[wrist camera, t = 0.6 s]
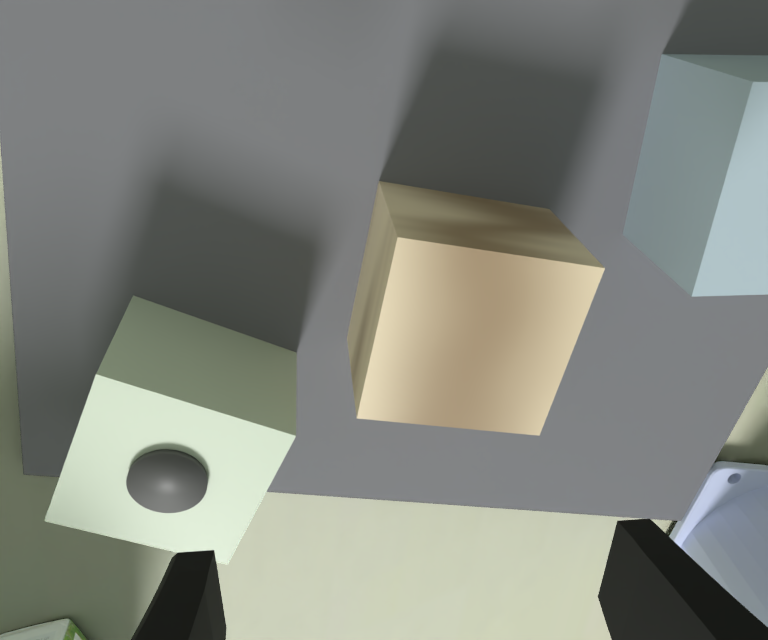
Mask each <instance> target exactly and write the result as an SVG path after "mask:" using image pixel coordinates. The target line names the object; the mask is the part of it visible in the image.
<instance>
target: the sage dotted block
mask: <svg viewBox="0 0 768 640" xmlns="http://www.w3.org/2000/svg"><path fill="white" fill-rule="evenodd" d="M296 385H297V353H296V352H294V351H291V350H288V349H285V348H282V347H279V346H276V345H274V344H271V343H268V342H265V341H262V340H259V339H256V338H254V337H251V336H248V335H245V334H242V333H239V332H236V331H234V330H231V329H228V328H225V327H222V326H219V325H216V324H214V323H211V322H208V321H205V320H202V319H199V318H196V317H194V316H191V315H188V314H185V313H182V312H179V311H176V310H174V309H171V308H168V307H165V306H162V305H159V304H156V303H154V302H151V301H148V300H145V299H142V298H139V297H136V296H134V295H133V297H132V299H131V301H130V303H129V305H128V307H127V309H126V312H125V314H124V316H123V318H122V320H121V322H120V324H119V326H118V329H117V331H116V333H115V335H114V337H113V339H112V341H111V343H110V345H109V348H108V350H107V352H106V354H105V356H104V358H103V360H102V362H101V365H100V367H99V369H98V371H97V373H96V375H95V378H94V381H93V384H92V387H91V390H90V392H89V395H88V398H87V401H86V404H85V407H84V409H83V412H82V415H81V418H80V421H79V424H78V426H77V429H76V432H75V435H74V438H73V441H72V443H71V446H70V449H69V452H68V455H67V458H66V460H65V463H64V466H63V469H62V472H61V475H60V477H59V480H58V483H57V486H56V489H55V492H54V494H53V497H52V500H51V503H50V506H49V509H48V511H47V514H46V517H45V520H44V521H45V522H50V523H54V524H58V525H62V526H66V527H71V528H75V529H79V530H83V531H87V532H92V533H96V534H100V535H104V536H109V537H113V538H117V539H121V540H125V541H130V542H134V543H138V544H142V545H147V546H151V547H155V548H159V549H163V550H168V551H172V552H176V553H179V552H193V551H207V550H214V552H215V558H216V562H218V563H222V564H227V565H228V563H229V561H230V559H231V557H232V555H233V553H234V552H235V550H236V548H237V546H238V544H239V542H240V540H241V538H242V537H243V535H244V533H245V531H246V529H247V527H248V525H249V523H250V522H251V520H252V518H253V516H254V514H255V512H256V510H257V508H258V507H259V505H260V503H261V501H262V499H263V497H264V495H265V493H266V492H267V490H268V488H269V486H270V484H271V482H272V480H273V478H274V477H275V475H276V473H277V471H278V469H279V467H280V465H281V463H282V462H283V460H284V458H285V456H286V454H287V452H288V450H289V449H290V447H291V445H292V443H293V441H294V439H295V437H296Z"/></svg>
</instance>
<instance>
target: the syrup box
mask: <svg viewBox="0 0 768 640" xmlns="http://www.w3.org/2000/svg"><path fill="white" fill-rule="evenodd" d="M0 640H87V639H86V638H85V636H84V635H83V634H82V633H81V631H80V630H79V629H78V628H77V627H76V625H75V624H74V623H73V622H72V621H71V620H70V619H61V620H56V621H52V622H47V623H43V624H38V625H34V626H30V627H26V628H22V629H19V630H15V631H11V632H7V633H4V634H0Z"/></svg>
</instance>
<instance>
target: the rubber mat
mask: <svg viewBox="0 0 768 640" xmlns="http://www.w3.org/2000/svg"><path fill="white" fill-rule="evenodd" d="M662 54H694V55H768V0H0V142H1V156H2V171H3V185H4V200H5V214H6V228H7V243H8V257H9V272H10V286H11V301H12V315H13V329H14V344H15V358H16V373H17V387H18V401H19V416H20V430H21V445H22V459H23V474H24V475H37V476H52V477H60V475H61V472H62V469H63V466H64V463H65V460H66V458H67V455H68V452H69V449H70V446H71V443H72V441H73V438H74V435H75V432H76V429H77V426H78V424H79V421H80V418H81V415H82V412H83V409H84V407H85V404H86V401H87V398H88V395H89V392H90V390H91V387H92V384H93V381H94V378H95V375H96V373H97V371H98V369H99V367H100V365H101V362H102V360H103V358H104V356H105V354H106V352H107V350H108V348H109V345H110V343H111V341H112V339H113V337H114V335H115V333H116V331H117V329H118V326H119V324H120V322H121V320H122V318H123V316H124V314H125V312H126V309H127V307H128V305H129V303H130V301H131V299H132V297H133V295H134V296H136V297H139V298H142V299H145V300H148V301H151V302H154V303H156V304H159V305H162V306H165V307H168V308H171V309H174V310H176V311H179V312H182V313H185V314H188V315H191V316H194V317H196V318H199V319H202V320H205V321H208V322H211V323H214V324H216V325H219V326H222V327H225V328H228V329H231V330H234V331H236V332H239V333H242V334H245V335H248V336H251V337H254V338H256V339H259V340H262V341H265V342H268V343H271V344H274V345H276V346H279V347H282V348H285V349H288V350H291V351H294V352H296V353H297V385H296V437H295V439H294V441H293V443H292V445H291V447H290V449H289V450H288V452H287V454H286V456H285V458H284V460H283V462H282V463H281V465H280V467H279V469H278V471H277V473H276V475H275V477H274V478H273V480H272V482H271V484H270V486H269V488H268V490H267V492H278V493H292V494H306V495H320V496H334V497H348V498H362V499H377V500H391V501H405V502H419V503H433V504H447V505H461V506H475V507H490V508H504V509H518V510H532V511H546V512H560V513H574V514H588V515H603V516H617V517H631V518H645V519H659V520H673V521H681V520H682V519H683V517H684V515H685V513H686V512H687V510H688V508H689V506H690V504H691V503H692V501H693V499H694V497H695V496H696V494H697V492H698V490H699V488H700V487H701V485H702V483H703V481H704V480H705V478H706V476H707V474H708V472H709V471H710V469H711V467H712V465H713V463H714V462H715V460H716V458H717V456H718V455H719V453H720V451H721V449H722V447H723V446H724V444H725V442H726V440H727V439H728V437H729V435H730V433H731V431H732V430H733V428H734V426H735V424H736V423H737V421H738V419H739V417H740V415H741V414H742V412H743V410H744V408H745V406H746V405H747V403H748V401H749V399H750V398H751V396H752V394H753V392H754V390H755V389H756V387H757V385H758V383H759V382H760V380H761V378H762V376H763V374H764V373H765V371H766V369H767V367H768V294H767V295H732V296H697V297H692V296H690V295H689V294H688V293H687V292H686V291H685V290H684V289H683V288H682V287H680V286H679V285H678V284H677V283H676V282H675V281H674V280H673V279H672V278H670V277H669V276H668V275H667V274H666V273H665V272H664V271H663V270H662V269H660V268H659V267H658V266H657V265H656V264H655V263H654V262H653V261H652V260H650V259H649V258H648V257H647V256H646V255H645V254H644V253H643V252H642V251H640V250H639V249H638V248H637V247H636V246H635V245H634V244H633V243H632V242H630V241H629V240H628V239H627V238H626V237H625V236H624V235H623V231H624V226H625V221H626V217H627V212H628V208H629V203H630V198H631V194H632V189H633V184H634V180H635V175H636V171H637V166H638V161H639V157H640V152H641V148H642V143H643V138H644V134H645V129H646V125H647V120H648V115H649V111H650V106H651V101H652V97H653V92H654V88H655V83H656V78H657V74H658V69H659V65H660V60H661V55H662ZM379 181H382V182H388V183H394V184H400V185H407V186H413V187H419V188H425V189H431V190H437V191H443V192H449V193H455V194H461V195H467V196H473V197H479V198H485V199H491V200H497V201H503V202H509V203H515V204H521V205H528V206H534V207H540V208H546V209H550V210H551V211H552V212H553V213H554V214H555V216H556V217H557V218H558V219H559V220H560V221H561V222H562V223H563V224H564V225H565V226H566V227H567V228H568V229H569V230H570V231H571V233H572V234H573V235H574V236H575V237H576V238H577V239H578V240H579V241H580V242H581V243H582V244H583V245H584V246H585V247H586V248H587V250H588V251H589V252H590V253H591V254H592V255H593V256H594V257H595V258H596V259H597V260H598V261H599V262H600V263H601V264H602V265H603V267H604V268H605V270H604V272H603V275H602V277H601V280H600V283H599V285H598V288H597V290H596V293H595V295H594V298H593V300H592V303H591V305H590V308H589V311H588V313H587V316H586V318H585V321H584V323H583V326H582V328H581V331H580V333H579V336H578V339H577V341H576V344H575V346H574V349H573V351H572V354H571V356H570V359H569V362H568V364H567V367H566V369H565V372H564V374H563V377H562V379H561V382H560V384H559V387H558V390H557V392H556V395H555V397H554V400H553V402H552V405H551V407H550V410H549V412H548V415H547V418H546V420H545V423H544V425H543V428H542V430H541V433H540V435H539V436H538V435H527V434H516V433H506V432H495V431H485V430H474V429H463V428H453V427H442V426H432V425H421V424H410V423H400V422H389V421H378V420H368V419H357V417H356V409H355V400H354V392H353V384H352V376H351V367H350V359H349V351H348V342H347V335H348V330H349V325H350V320H351V315H352V310H353V305H354V301H355V296H356V291H357V286H358V281H359V276H360V271H361V266H362V261H363V256H364V251H365V246H366V242H367V237H368V232H369V227H370V222H371V217H372V212H373V207H374V202H375V197H376V192H377V187H378V183H379Z"/></svg>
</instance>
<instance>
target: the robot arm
mask: <svg viewBox="0 0 768 640" xmlns="http://www.w3.org/2000/svg"><path fill="white" fill-rule="evenodd" d="M598 598H599V601H600V605H601V608H602V611H603V614H604V617H605V620H606V624H607V627H608V630H609V633H610V635H611V638H612V640H768V465H760V464H749V463H738V462H727V461H719V462H715V463H713V465H712V467H711V469H710V471H709V472H708V474H707V476H706V478H705V480H704V481H703V483H702V485H701V487H700V488H699V490H698V492H697V494H696V496H695V497H694V499H693V501H692V503H691V504H690V506H689V508H688V510H687V512H686V513H685V515H684V517H683V519H682V520H681V521H677V523H676V525H675V527H674V529H673V530H672V532H671V534H670V536H668V535H667V534H666V533H665V532H663V531H662V530H661V529H660V528H659V527H658V526H657V525H656V524H655V523H654V522H653V521H652V520H650V519H638V520H624V521H617V525H616V529H615V533H614V537H613V541H612V544H611V548H610V552H609V556H608V560H607V564H606V568H605V571H604V575H603V579H602V583H601V587H600V591H599V595H598ZM225 639H226V623H225V617H224V610H223V604H222V597H221V591H220V584H219V578H218V571H217V565H216V558H215V552H214V550H207V551H193V552H179V553H177V554H176V555H175V556H173V557H172V559H171V561H170V563H169V566H168V568H167V570H166V572H165V575H164V577H163V579H162V581H161V583H160V585H159V587H158V589H157V591H156V593H155V595H154V597H153V599H152V601H151V603H150V605H149V607H148V609H147V611H146V613H145V615H144V617H143V618H142V620H141V622H140V624H139V626H138V628H137V630H136V632H135V633H134V635H133V637H132V639H131V640H225Z"/></svg>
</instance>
